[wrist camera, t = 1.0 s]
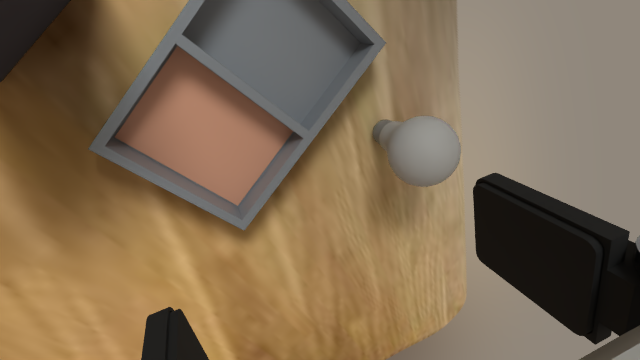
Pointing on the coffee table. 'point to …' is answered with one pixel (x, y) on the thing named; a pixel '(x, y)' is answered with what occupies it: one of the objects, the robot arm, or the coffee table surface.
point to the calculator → (23, 27)
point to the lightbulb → (419, 149)
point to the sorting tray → (237, 98)
